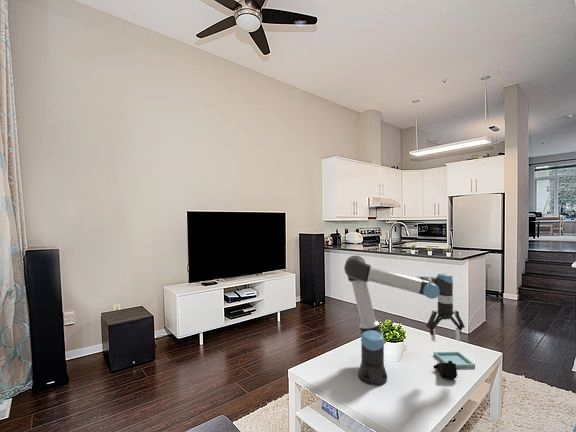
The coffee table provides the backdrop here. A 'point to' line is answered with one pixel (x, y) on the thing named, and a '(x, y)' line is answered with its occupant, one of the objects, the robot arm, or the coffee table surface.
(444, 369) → the toy
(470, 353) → the coffee table surface
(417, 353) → the coffee table surface
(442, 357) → the tray
